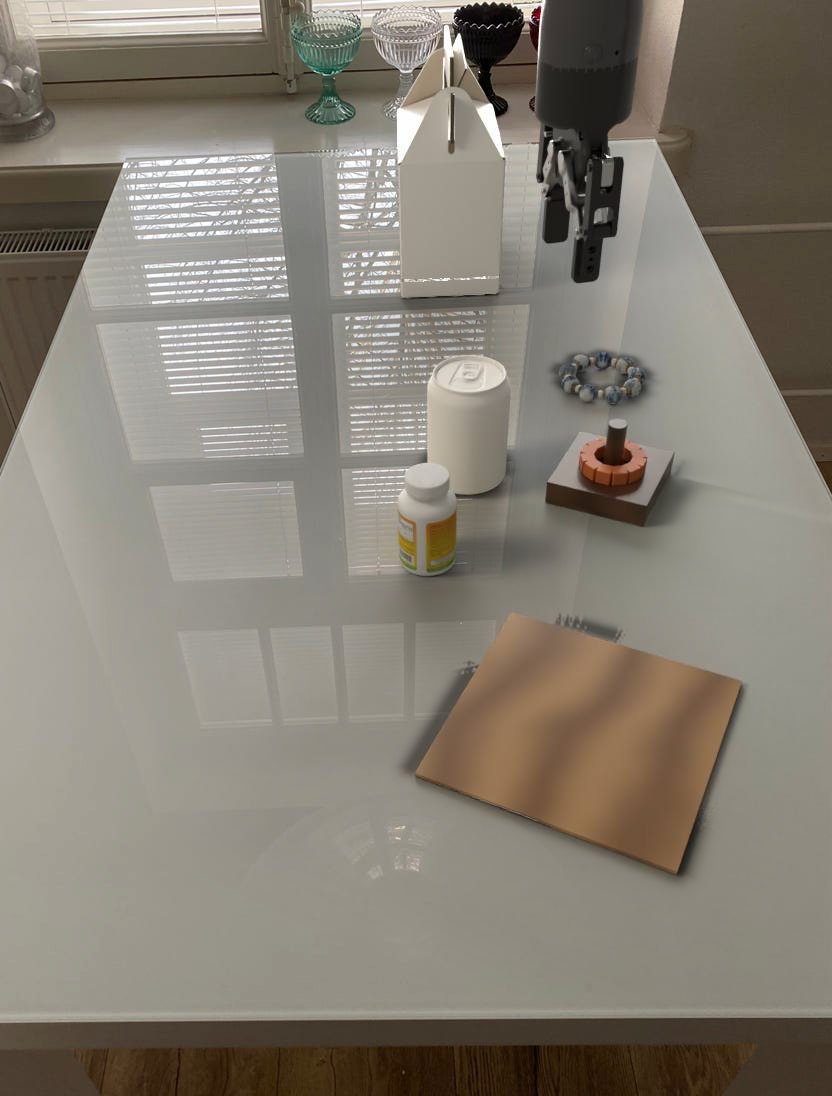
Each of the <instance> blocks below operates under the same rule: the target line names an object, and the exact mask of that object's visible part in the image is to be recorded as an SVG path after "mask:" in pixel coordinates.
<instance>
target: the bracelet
mask: <svg viewBox="0 0 832 1096" xmlns="http://www.w3.org/2000/svg"><path fill="white" fill-rule="evenodd" d="M591 366H595V367H596V368H597V369H598V368H600V369H599V370H606V369H609V367H612V368H615V369H616V371H617V373H618V374H620V373H621V374H620V375H623V374H625V375H627V380H626V381H625V382H624V383H623V386H622V387H619V386H617V385H610V386H607V387H606V388H605V389H604V390H603V389H599V390H598V389H597V387H596V386H595V385H593V384H589V383H586V384H584V385H581V384H580V380H579V379H578V377H577V376H576V375H577V371H579V372H578V373H582V372H581V371H583V372H585V371H587V370H588V369H589V367H591ZM558 376H559V379H560V380H562V381H561V389H562V391H563V392H564V391H565V392H564V393H566V392H567V393H566V394H574V393H576V394H578V396H579V399H580V401H582V402H584V401H585V402H584V403H588V402H589V403H592V402H594V401H595V400H596V399H600V400H601V399H603V400H604V401H605V402H606V403H607V404H609V403H615V404H618V403H620V401H621V400H622V397H624V396H626V395H627V396H626V397H628V396H630V397H629V398H635V397H637V396H638V395H640V393H641V391H642V385H643V384H644V382H645V380H646V372H645V369H643V368H641V367H635V362H634V360H633V359H632V358H630V357H628V356H623V357H620V358H619V359H617V358H613V357H612V355H611V353H609V352H608V351H607V352H606V351H600V352H598V353H597V354H596V355H595V356H594V357H592V356H591V357H589V356H587V355H584V354H578V355H575V356H574V357H573V358H572V361H571V363H565V364H563V365H561V367H560V368H559V372H558ZM573 392H574V393H573ZM634 396H635V397H634ZM593 400H594V401H593Z"/></svg>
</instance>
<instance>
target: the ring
mask: <svg viewBox="0 0 832 1096" xmlns="http://www.w3.org/2000/svg"><path fill="white" fill-rule="evenodd" d="M606 439H607V438H600V439H599V440H598V439H595V440H593V441H591V442H589V443H587V444H586V445H584V447H583V448H582V450H581V451H580V457H579V467H580V470H581V473H583V475H584V476H586V477H587V478H589V479H590V480H592V481H593V480H595V482H597V483H601V484H605V485H609V484H610V483H611V484H612V486H613V485H626V483H628V484H630V483H632V482H634V481H637V480H639V479H640V478H641V477H642V475H643V474H644V472H645V469H646V464H647V455H646V453H645V451H644V449H642V447H640V446H639V445H640V444H639V445H637V444H638V443H636V442H634V441H631V440H630V439H625V446H624V452H623V458H622V459H624V460H625V461H627V462H628V463H627V464H625V465H622V466H610V465H606V464H602V463H601V462H599V461H598V460H597V459H599V458H602V457H604V453H605V446H606Z"/></svg>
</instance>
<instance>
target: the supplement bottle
mask: <svg viewBox="0 0 832 1096" xmlns="http://www.w3.org/2000/svg"><path fill="white" fill-rule="evenodd" d="M449 486H450V475H449V472H448V470H447V469H446V468H445V467H443V466H441V465H438V464H435V463H427V462H422V463H418V464H414V465H412V466H411V467H408V469H407V470H406V471H405V473H404V488H403V489H402V490H401V491H400V493H399V495H398V498H397V530H398V531H397V532H398V556H399V557H398V558H399V562H400V564H401V566H402V567H403V568H404V570H406V571H408V572H409V573H410V574H413V575H416V576H421V577H432V576H438V575H441V574H444V573H446V572H447V571H449V570H450V569H451V568H452V567H453V565H454V564H455V561H456V557H457V521H458V520H457V517H458V516H457V515H458V514H457V513H458V502H457V501H458V500H457V497H456V494H455V493H454V492H453V491H452V490H451V489H450V488H449Z"/></svg>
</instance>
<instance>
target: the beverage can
mask: <svg viewBox="0 0 832 1096" xmlns="http://www.w3.org/2000/svg"><path fill="white" fill-rule="evenodd" d="M507 374H508V373H507V369H506V367H505V366H504V365H503V364H502V363H501V362H499V361H498V360H496V359H493V358H490V357H488V356H483V355H474V354H466V355H465V354H464V355H456V356H453V357H452V356H451V357H450V358H449V357H448V358H447V359H444V360H442V361H440V362H439V363H437V365H435V367H434V368H433V370H432V373H431V376H430V378H429V379H428V381H427V385H426V386H427V388H426V398H427V399H426V400H427V401H426V407H427V409H426V412H427V414H426V415H427V416H426V417H427V418H426V422H427V423H426V425H427V426H426V428H427V429H426V431H427V432H426V433H427V434H426V436H427V438H426V439H427V441H426V442H427V446H426V448H427V450H426V451H427V453H426V454H427V455H426V456H427V459H426V460H427V462H426V463H435V464H438V465H441V466H443V467H445V468H446V469H447V470H448V472H449V475H450V486H449V488H450V489H451V490H452V491H453V492H454V494H455V495H465V496H466V495H467V496H469V495H478V494H483V493H485V492H489V491H490V490H493V489H495V488H496V487H498V486H499V485H500V484H501V483H502V482H503V480H504V479H505V477H506V474H507V473H506V472H507V457H508V456H507V455H508V441H509V440H508V439H509V426H510V425H509V423H510V410H511V409H510V408H511V393H512V392H511V391H512V384H511V381H510V378H509V377H508V375H507Z"/></svg>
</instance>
